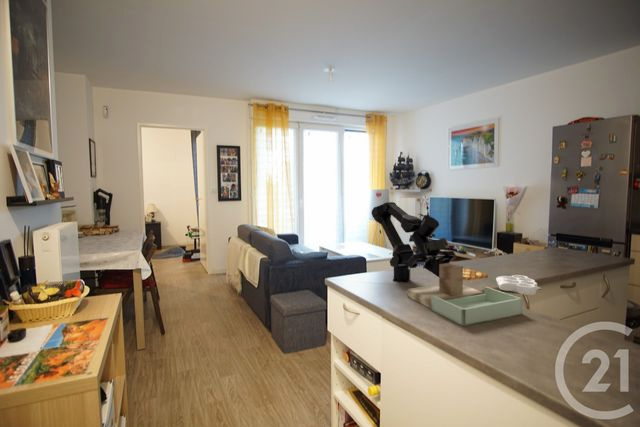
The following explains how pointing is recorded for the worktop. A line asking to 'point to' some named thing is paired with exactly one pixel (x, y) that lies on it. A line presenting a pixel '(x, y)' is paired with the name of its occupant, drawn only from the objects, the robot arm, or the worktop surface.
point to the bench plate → (437, 294)
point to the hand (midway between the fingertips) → (442, 278)
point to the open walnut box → (451, 279)
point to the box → (478, 307)
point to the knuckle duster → (518, 284)
